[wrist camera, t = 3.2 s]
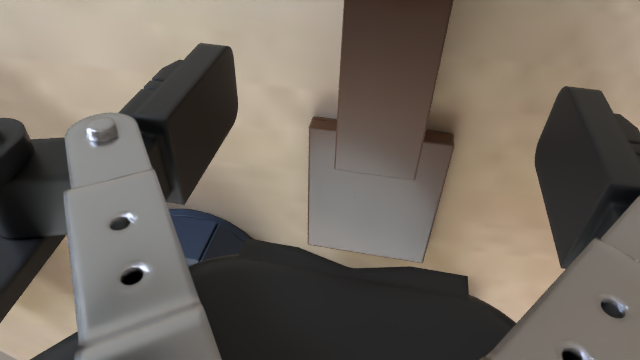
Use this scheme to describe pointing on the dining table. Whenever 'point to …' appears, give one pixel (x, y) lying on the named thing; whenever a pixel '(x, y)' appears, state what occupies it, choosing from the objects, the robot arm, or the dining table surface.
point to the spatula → (381, 133)
